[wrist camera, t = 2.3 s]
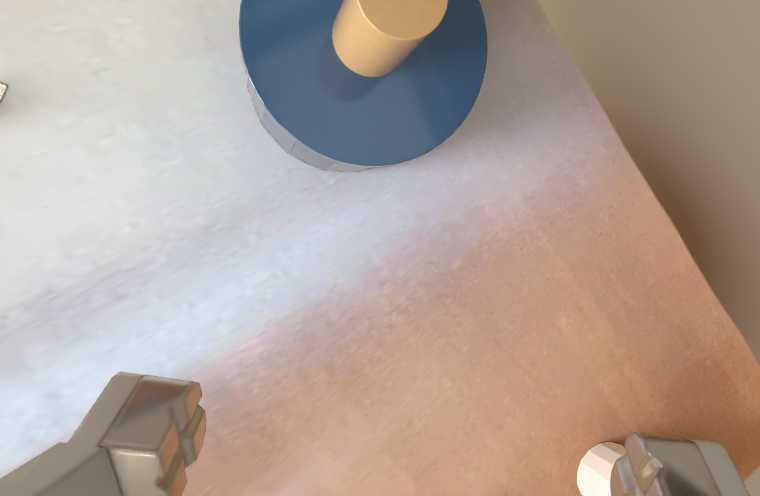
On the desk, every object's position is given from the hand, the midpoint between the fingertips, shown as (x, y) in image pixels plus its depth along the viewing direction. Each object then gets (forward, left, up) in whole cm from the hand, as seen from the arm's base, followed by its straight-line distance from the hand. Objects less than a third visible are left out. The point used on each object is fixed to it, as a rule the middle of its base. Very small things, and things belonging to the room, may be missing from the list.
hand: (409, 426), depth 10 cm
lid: (-2, +15, -21) cm, 26 cm away
